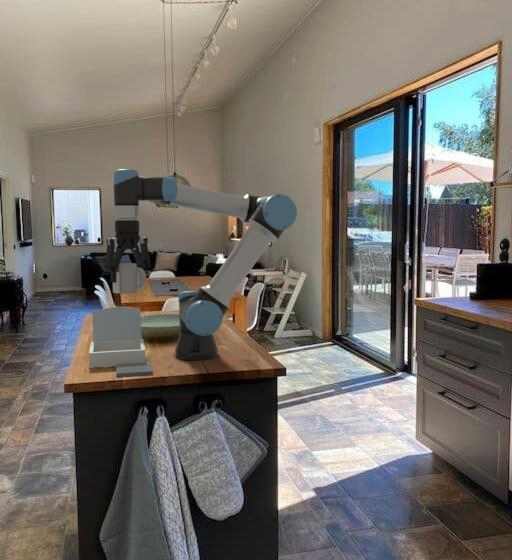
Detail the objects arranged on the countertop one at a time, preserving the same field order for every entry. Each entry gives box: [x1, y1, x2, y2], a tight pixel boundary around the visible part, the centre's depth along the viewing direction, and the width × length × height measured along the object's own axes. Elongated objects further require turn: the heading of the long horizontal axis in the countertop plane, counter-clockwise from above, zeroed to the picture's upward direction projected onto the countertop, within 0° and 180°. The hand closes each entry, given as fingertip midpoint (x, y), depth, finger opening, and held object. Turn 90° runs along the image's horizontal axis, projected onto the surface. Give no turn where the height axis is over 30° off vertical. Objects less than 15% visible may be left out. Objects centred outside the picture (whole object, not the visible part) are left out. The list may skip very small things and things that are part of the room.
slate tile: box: [115, 362, 154, 378], centre depth 180 cm, size 11×11×1 cm
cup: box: [117, 262, 147, 295], centre depth 178 cm, size 7×10×9 cm
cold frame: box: [88, 307, 147, 369], centre depth 196 cm, size 23×18×16 cm
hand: (128, 291), depth 178 cm, fingers closed on cup, 8 cm apart
